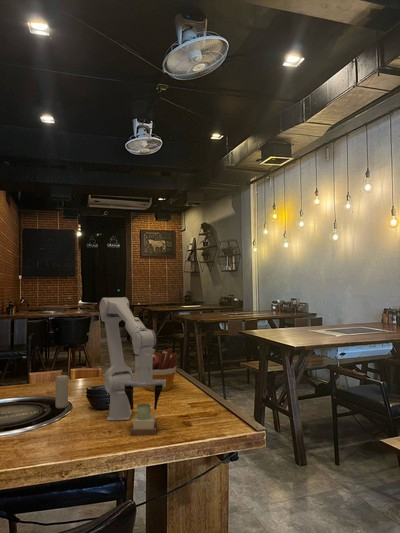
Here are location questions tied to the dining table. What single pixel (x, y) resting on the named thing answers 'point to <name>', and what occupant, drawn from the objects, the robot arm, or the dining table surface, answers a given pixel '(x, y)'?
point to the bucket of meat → (164, 368)
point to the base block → (144, 431)
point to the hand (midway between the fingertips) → (143, 408)
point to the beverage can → (61, 391)
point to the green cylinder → (143, 411)
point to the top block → (144, 423)
